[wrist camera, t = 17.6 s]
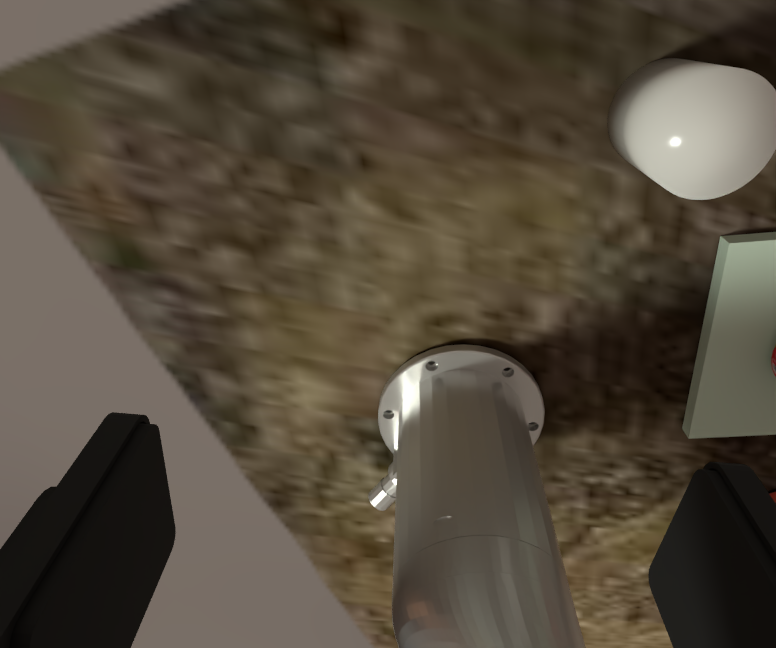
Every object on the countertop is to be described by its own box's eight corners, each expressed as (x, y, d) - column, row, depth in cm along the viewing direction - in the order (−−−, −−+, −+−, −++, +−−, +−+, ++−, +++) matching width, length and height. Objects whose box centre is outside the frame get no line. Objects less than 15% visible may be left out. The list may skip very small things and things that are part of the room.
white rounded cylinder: (706, 164, 35) (767, 195, 28) (603, 171, 35) (640, 203, 29) (725, 53, 32) (797, 61, 26) (612, 63, 32) (655, 73, 26)
